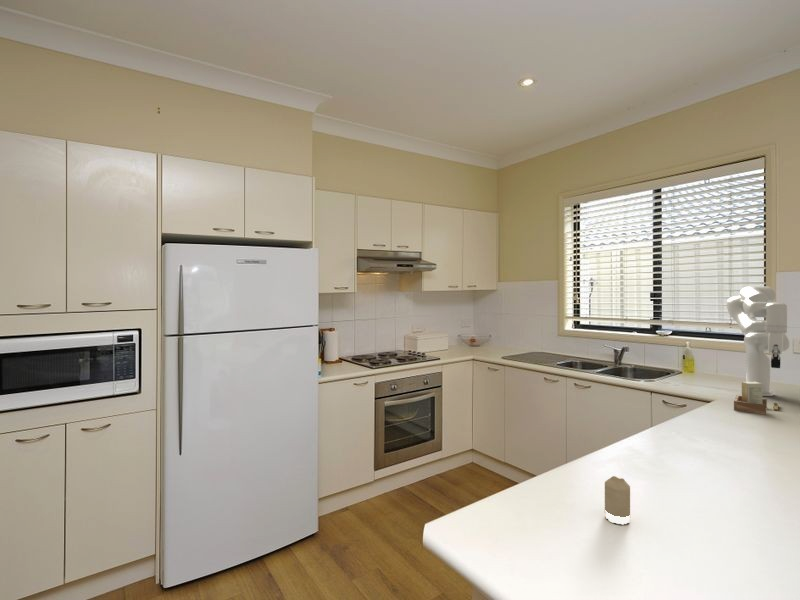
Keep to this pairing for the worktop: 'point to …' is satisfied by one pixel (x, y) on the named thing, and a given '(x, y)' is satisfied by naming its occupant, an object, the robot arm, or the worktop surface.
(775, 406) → the bar
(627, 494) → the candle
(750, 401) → the skincare box
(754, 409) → the cradle
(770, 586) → the worktop surface
